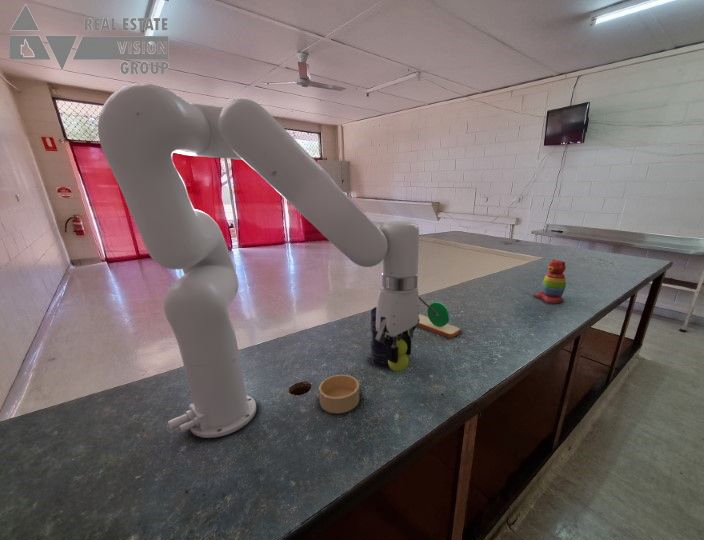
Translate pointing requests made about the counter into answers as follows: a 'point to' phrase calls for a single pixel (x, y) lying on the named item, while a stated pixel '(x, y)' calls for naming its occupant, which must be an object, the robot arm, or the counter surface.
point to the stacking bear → (553, 283)
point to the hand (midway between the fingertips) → (398, 356)
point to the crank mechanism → (437, 320)
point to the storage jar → (378, 345)
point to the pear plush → (400, 357)
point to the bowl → (339, 393)
